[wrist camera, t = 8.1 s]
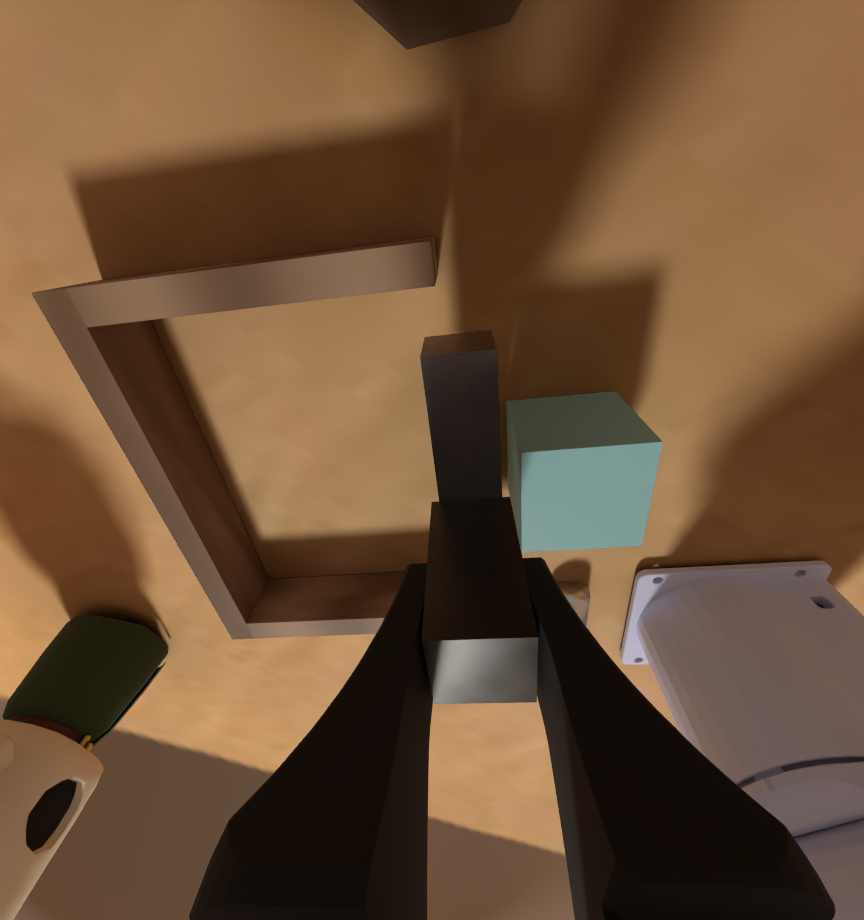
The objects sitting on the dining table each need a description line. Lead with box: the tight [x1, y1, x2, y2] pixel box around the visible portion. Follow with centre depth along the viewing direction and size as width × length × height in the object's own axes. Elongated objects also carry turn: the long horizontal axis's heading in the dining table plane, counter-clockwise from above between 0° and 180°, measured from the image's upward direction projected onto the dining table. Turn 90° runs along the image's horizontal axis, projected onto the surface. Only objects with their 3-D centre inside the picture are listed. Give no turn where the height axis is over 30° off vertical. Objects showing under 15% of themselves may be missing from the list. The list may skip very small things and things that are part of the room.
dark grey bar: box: [420, 330, 538, 704], centre depth 12 cm, size 2×12×7 cm, turn 7°
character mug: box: [0, 615, 168, 920], centre depth 21 cm, size 11×7×13 cm, turn 154°
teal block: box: [506, 391, 663, 552], centre depth 16 cm, size 4×4×4 cm
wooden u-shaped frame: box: [32, 237, 438, 639], centre depth 18 cm, size 13×17×3 cm
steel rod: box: [557, 581, 590, 626], centre depth 25 cm, size 12×2×2 cm
